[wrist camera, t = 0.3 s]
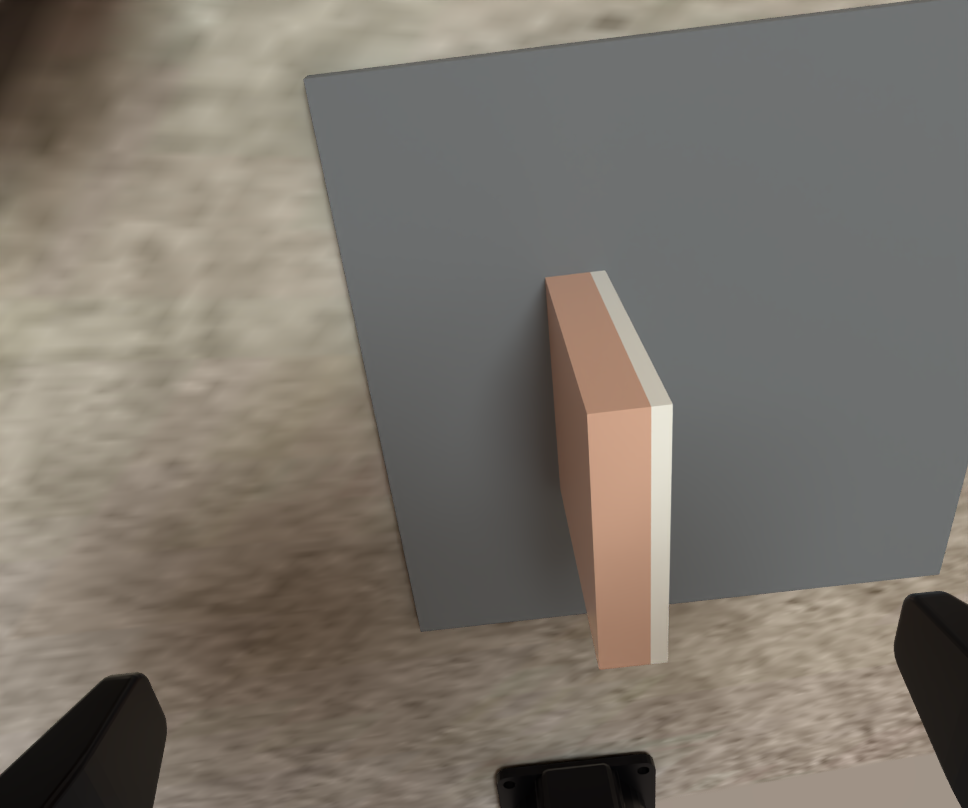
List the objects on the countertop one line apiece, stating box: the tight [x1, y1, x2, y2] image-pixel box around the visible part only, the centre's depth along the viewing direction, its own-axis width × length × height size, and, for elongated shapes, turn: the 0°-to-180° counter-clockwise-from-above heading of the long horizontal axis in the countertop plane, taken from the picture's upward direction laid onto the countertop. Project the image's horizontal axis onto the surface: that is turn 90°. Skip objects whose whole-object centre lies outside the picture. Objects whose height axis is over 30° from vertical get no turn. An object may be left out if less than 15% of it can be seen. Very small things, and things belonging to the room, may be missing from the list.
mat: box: [303, 0, 968, 632], centre depth 22 cm, size 18×18×1 cm
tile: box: [545, 270, 673, 670], centre depth 19 cm, size 7×2×7 cm, turn 6°
